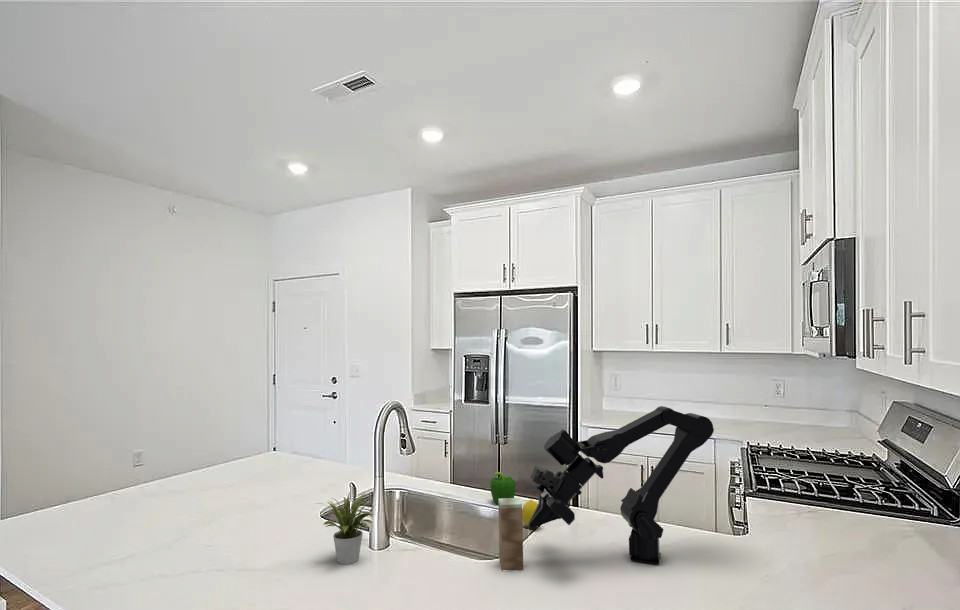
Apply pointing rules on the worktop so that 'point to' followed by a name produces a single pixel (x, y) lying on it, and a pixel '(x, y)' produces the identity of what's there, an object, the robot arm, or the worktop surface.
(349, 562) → the house plant
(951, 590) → the worktop surface
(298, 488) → the worktop surface
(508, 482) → the bell pepper
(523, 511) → the lemon
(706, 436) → the robot arm
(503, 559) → the walnut block
